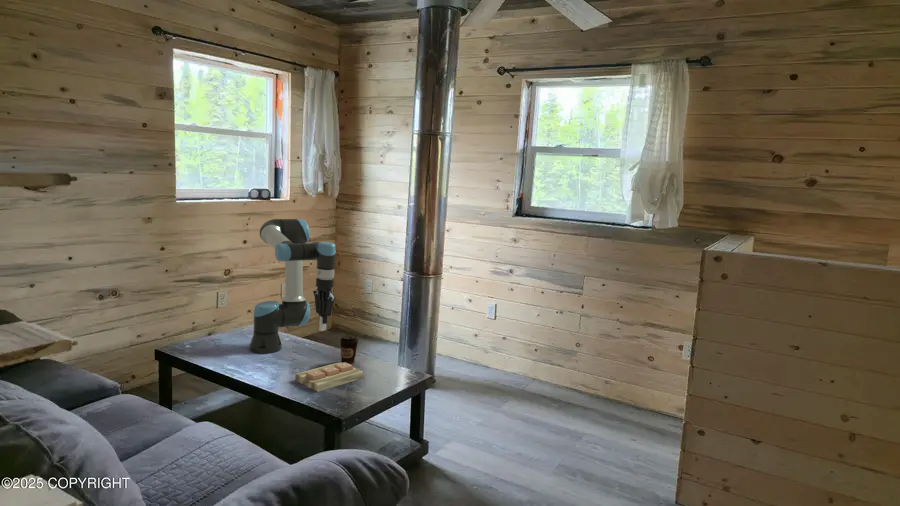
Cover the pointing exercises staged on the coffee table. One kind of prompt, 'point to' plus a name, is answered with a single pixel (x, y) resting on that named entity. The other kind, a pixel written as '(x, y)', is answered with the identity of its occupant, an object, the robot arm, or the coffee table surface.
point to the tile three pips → (344, 367)
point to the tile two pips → (330, 371)
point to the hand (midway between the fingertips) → (322, 330)
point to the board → (329, 378)
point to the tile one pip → (315, 375)
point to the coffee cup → (348, 349)
